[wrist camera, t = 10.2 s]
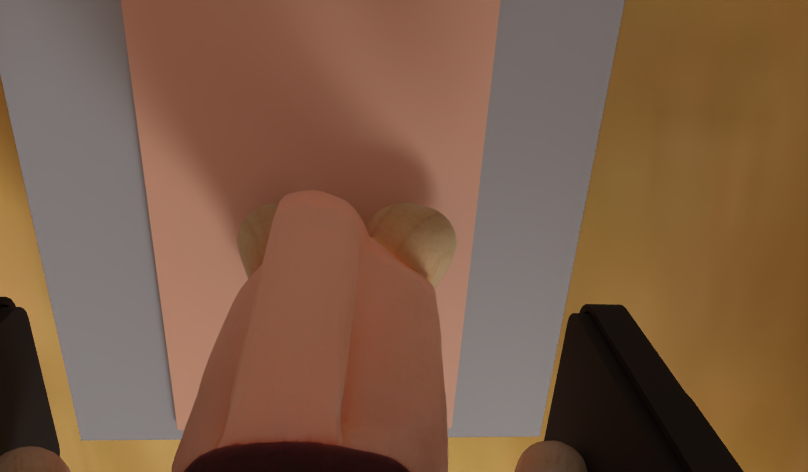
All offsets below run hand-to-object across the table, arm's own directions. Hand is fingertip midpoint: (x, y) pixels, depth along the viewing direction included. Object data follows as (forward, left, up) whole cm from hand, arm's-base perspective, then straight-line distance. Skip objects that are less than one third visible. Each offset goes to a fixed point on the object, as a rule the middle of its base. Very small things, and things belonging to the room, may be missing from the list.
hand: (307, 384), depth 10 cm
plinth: (0, 0, -12) cm, 12 cm away
